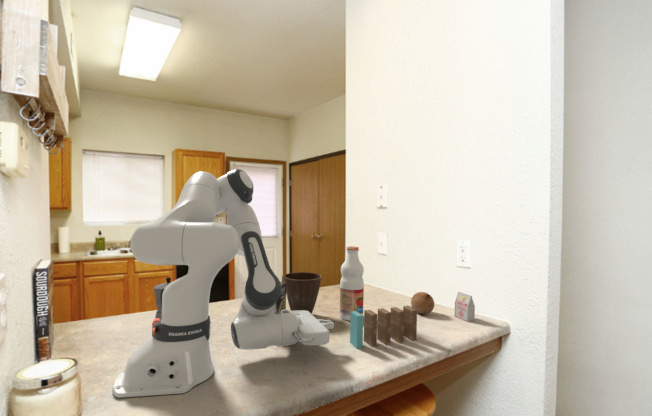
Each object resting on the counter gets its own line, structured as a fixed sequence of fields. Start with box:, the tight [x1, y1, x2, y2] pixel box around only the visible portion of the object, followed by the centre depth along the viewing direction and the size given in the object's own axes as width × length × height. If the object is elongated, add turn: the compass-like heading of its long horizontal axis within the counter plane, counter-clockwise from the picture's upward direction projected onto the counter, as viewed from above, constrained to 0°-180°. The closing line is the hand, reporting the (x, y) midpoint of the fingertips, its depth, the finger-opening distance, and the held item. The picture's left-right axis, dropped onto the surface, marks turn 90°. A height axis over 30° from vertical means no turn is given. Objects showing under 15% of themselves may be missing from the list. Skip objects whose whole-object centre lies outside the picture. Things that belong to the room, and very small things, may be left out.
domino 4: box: [402, 305, 418, 342], centre depth 113 cm, size 2×5×10 cm, turn 21°
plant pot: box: [283, 271, 322, 315], centre depth 134 cm, size 15×15×16 cm
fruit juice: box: [339, 246, 365, 322], centre depth 133 cm, size 9×9×28 cm
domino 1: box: [363, 309, 378, 348], centre depth 107 cm, size 2×5×10 cm, turn 21°
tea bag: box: [454, 291, 476, 323], centre depth 134 cm, size 4×7×10 cm, turn 22°
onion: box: [410, 291, 435, 315], centre depth 140 cm, size 10×9×10 cm
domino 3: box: [390, 306, 405, 343], centre depth 111 cm, size 2×5×10 cm, turn 21°
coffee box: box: [273, 281, 287, 314], centre depth 118 cm, size 9×6×16 cm
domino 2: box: [377, 308, 392, 345], centre depth 109 cm, size 2×5×10 cm, turn 21°
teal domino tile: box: [349, 311, 364, 349], centre depth 106 cm, size 2×5×10 cm, turn 20°
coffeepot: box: [153, 276, 172, 320], centre depth 115 cm, size 15×9×18 cm, turn 14°
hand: (332, 323), depth 103 cm, fingers closed
